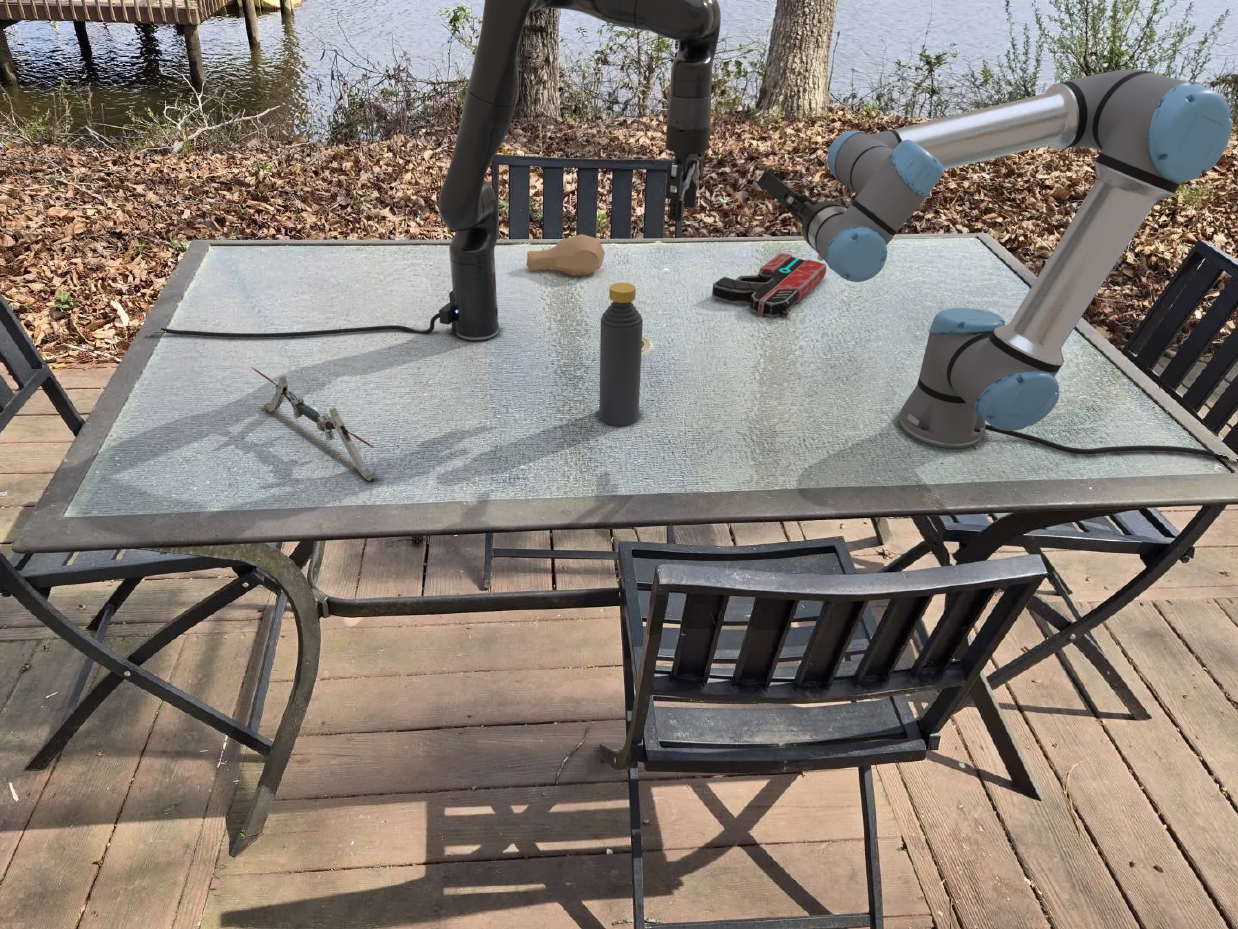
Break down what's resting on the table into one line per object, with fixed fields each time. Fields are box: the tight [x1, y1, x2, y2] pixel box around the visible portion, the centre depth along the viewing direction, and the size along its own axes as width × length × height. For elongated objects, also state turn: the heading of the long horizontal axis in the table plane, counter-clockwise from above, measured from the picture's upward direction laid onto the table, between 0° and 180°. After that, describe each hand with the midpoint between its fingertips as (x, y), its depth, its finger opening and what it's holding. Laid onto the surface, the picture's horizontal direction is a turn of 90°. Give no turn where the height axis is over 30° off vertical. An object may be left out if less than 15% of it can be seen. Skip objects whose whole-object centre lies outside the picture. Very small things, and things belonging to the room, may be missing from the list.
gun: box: [711, 252, 827, 318], centre depth 215 cm, size 4×31×19 cm
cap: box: [608, 282, 637, 303], centre depth 151 cm, size 4×4×2 cm
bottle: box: [598, 301, 644, 427], centre depth 157 cm, size 7×7×25 cm
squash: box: [526, 233, 606, 277], centre depth 222 cm, size 11×20×9 cm, turn 90°
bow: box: [250, 366, 376, 482], centre depth 151 cm, size 39×2×10 cm, turn 47°
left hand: (682, 213), depth 162 cm, fingers open, 8 cm apart
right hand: (798, 199), depth 152 cm, fingers open, 13 cm apart
